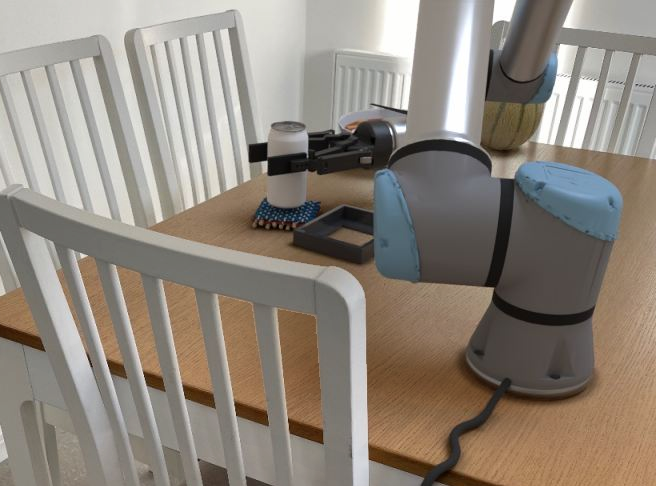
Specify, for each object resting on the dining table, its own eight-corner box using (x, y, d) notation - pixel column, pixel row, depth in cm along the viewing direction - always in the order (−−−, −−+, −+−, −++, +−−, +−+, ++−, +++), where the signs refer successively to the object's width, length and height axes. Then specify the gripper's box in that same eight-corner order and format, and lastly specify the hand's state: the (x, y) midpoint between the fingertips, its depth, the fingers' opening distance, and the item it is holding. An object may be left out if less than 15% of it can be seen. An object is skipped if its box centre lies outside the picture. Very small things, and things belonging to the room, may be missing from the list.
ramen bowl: (307, 158, 165) (309, 115, 160) (383, 138, 177) (387, 96, 172) (402, 191, 151) (407, 144, 146) (477, 166, 163) (485, 122, 158)
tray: (361, 264, 125) (362, 248, 124) (292, 244, 131) (293, 229, 129) (407, 234, 135) (409, 220, 133) (342, 217, 140) (343, 203, 139)
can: (258, 201, 137) (259, 124, 130) (286, 193, 141) (289, 117, 133) (285, 212, 134) (287, 133, 126) (313, 203, 137) (317, 126, 129)
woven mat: (261, 206, 144) (261, 194, 143) (321, 211, 143) (322, 199, 141) (249, 227, 136) (249, 215, 135) (312, 233, 135) (313, 221, 133)
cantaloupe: (486, 134, 181) (499, 57, 172) (547, 148, 174) (565, 69, 164) (450, 148, 173) (462, 68, 163) (513, 163, 165) (529, 81, 156)
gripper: (411, 184, 134) (285, 203, 126) (352, 150, 148) (234, 166, 140) (417, 135, 130) (286, 152, 122) (355, 105, 143) (233, 119, 135)
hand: (259, 160), depth 131 cm, fingers closed on can, 6 cm apart
